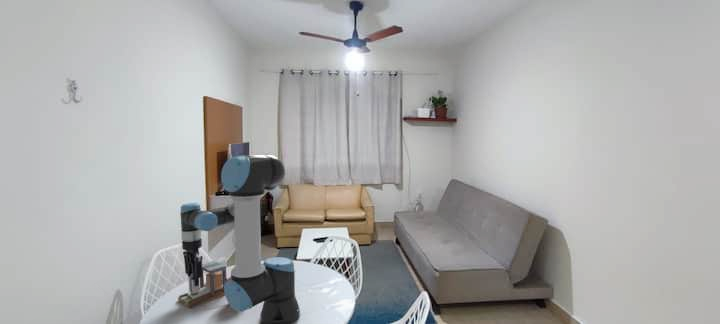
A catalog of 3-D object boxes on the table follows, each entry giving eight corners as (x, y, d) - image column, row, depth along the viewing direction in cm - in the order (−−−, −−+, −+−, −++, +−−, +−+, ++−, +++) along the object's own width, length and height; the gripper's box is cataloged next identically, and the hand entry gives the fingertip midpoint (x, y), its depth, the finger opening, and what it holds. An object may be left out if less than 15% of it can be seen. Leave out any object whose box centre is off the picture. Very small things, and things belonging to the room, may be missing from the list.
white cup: (210, 277, 162) (209, 258, 161) (227, 274, 165) (226, 255, 165) (210, 283, 155) (209, 263, 154) (227, 280, 158) (226, 261, 158)
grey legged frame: (238, 288, 150) (237, 262, 149) (189, 308, 132) (188, 279, 131) (225, 282, 156) (224, 257, 155) (178, 300, 139) (176, 272, 138)
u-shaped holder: (225, 287, 147) (224, 266, 146) (194, 299, 136) (193, 277, 135) (218, 283, 151) (217, 263, 150) (187, 295, 140) (186, 273, 139)
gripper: (209, 240, 135) (211, 293, 137) (192, 233, 145) (194, 283, 147) (191, 244, 129) (193, 300, 131) (174, 237, 139) (177, 289, 141)
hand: (194, 291), depth 139 cm, fingers closed on u-shaped holder, 3 cm apart
